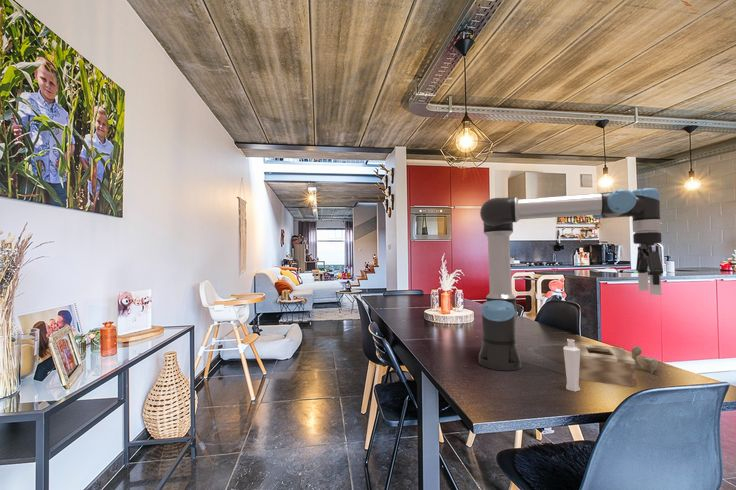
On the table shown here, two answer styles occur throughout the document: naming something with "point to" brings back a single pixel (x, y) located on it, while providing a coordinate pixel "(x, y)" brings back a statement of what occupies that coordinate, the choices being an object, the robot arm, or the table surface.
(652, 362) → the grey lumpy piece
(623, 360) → the holder box
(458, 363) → the table surface
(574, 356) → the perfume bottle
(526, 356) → the table surface
